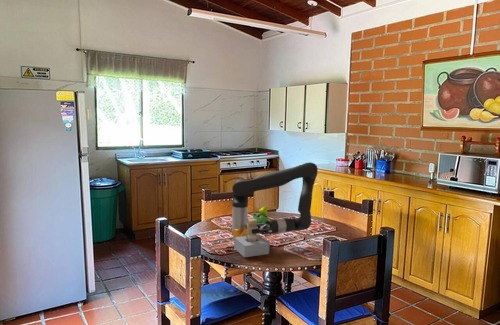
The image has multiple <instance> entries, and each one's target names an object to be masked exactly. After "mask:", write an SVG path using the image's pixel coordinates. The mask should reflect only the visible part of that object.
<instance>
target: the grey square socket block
mask: <svg viewBox="0 0 500 325" xmlns="http://www.w3.org/2000/svg"><path fill="white" fill-rule="evenodd" d="M233 248H235V251H236V252H238V254H240V255H241V256H242V257H243V258H249V257H251V258H252V257H256V256H257V257H258V256H263V255H269V254H270V242H269V241H268V240H266V239H265V238H264V237H262V236H261V235H259V234H257V238H256V241H254V242H247V241H246V236H243V237H234V240H233Z"/></svg>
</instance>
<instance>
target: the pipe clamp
mask: <svg viewBox="0 0 500 325" xmlns="http://www.w3.org/2000/svg"><path fill="white" fill-rule="evenodd" d="M232 235H233V238H232V240H233V241H234V237H243V236H247V229H245V226H244V230H243V232H242V233H241V234H240V232H239V230H238V229H234V234H232Z"/></svg>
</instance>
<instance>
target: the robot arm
mask: <svg viewBox="0 0 500 325" xmlns="http://www.w3.org/2000/svg"><path fill="white" fill-rule="evenodd" d="M317 177H318V166H317V164H315V163H313V162H312V161H311V162H305V163H303V164H302V163H301V164H299V165H297V166H294V167H290V168H284V169H280V170H277V171H276V170H275V171H272V172H267V173H265V174H263V175H261V176H258V177H256V178H253V179H246V180H245V179H243V178H240V179H237V180H234V182H233V184H232V189H231V190H232V210H231V211H232V212H231V214H232V215H231V216H232V217H231V222H232V223H231V234H232V235H233V234H234V229H238V230H239V232H240V234H241V233H242V232H243V230H244V226H245V229H247V219H248V215H249V214H248V210H249V209H248V208H249V207H248V206H249V205H248V204H249V194H251V193H254V192H257V191H264V190H268V189H269V190H271V189H274V188H278V187H282V186H285V185H287V184H288V183H290V182H292V181H294V180H297V179H301V178H302V185H301V186H302V187H301V191H300V194H299V199H298V200H299V201H298V205H297V212H298V213H299V214H300V216H299V217H296V218H276V219H275V218H274V219H268V220H267V221H266V223H265V224H264V223H262V222H257V229H252V234H256V233H257V234H258V235H259V234H261V235H275V234H282V233H286V232H287V233H288V232H296V231H297V232H298V231H305V230H307V229H309V228H310V226H311V224H312V215H311V214H312V213H311V208H312V200H313V190H314V185H315V182H316V179H317Z"/></svg>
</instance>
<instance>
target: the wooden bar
mask: <svg viewBox="0 0 500 325" xmlns="http://www.w3.org/2000/svg"><path fill="white" fill-rule="evenodd" d="M257 228H258V227H257V220H256V219H253V218H247V236H246V241H247V242H254V241H256V238H257V235H258V233H256V234H252V229H257Z"/></svg>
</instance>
